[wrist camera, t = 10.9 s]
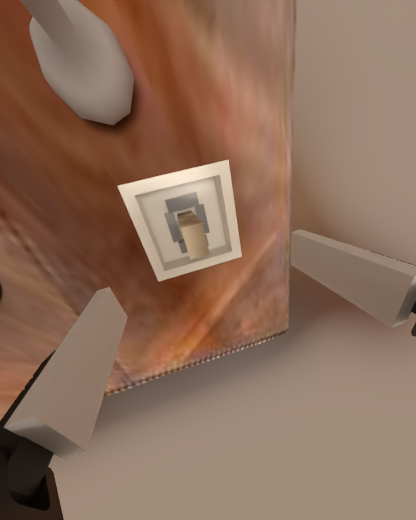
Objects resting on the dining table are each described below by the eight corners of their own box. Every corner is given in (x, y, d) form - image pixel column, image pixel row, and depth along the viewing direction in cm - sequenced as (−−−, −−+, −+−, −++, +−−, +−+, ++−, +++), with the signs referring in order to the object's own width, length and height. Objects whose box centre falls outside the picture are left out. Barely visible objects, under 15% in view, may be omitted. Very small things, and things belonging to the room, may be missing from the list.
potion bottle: (152, 107, 22) (107, -98, 6) (101, 145, 23) (-63, 43, 7) (101, 19, 18) (-361, -1118, 2) (41, 66, 19) (-688, -618, 3)
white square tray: (159, 270, 32) (158, 281, 28) (125, 186, 25) (117, 185, 21) (233, 248, 34) (241, 256, 30) (219, 163, 27) (228, 159, 23)
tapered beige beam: (183, 235, 29) (190, 259, 20) (177, 214, 28) (180, 228, 18) (196, 232, 30) (209, 254, 20) (191, 210, 28) (202, 222, 18)
